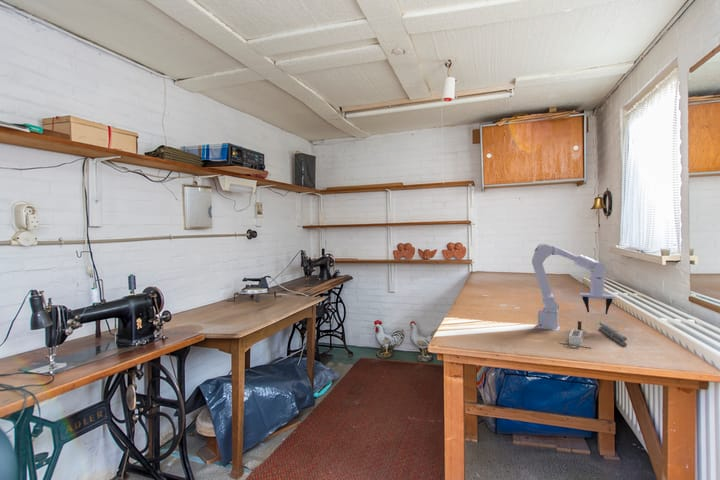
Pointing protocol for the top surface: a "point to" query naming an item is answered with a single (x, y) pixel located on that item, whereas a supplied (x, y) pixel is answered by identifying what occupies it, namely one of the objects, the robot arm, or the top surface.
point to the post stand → (585, 332)
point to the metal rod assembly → (613, 334)
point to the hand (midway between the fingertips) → (597, 312)
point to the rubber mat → (575, 346)
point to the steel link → (575, 337)
